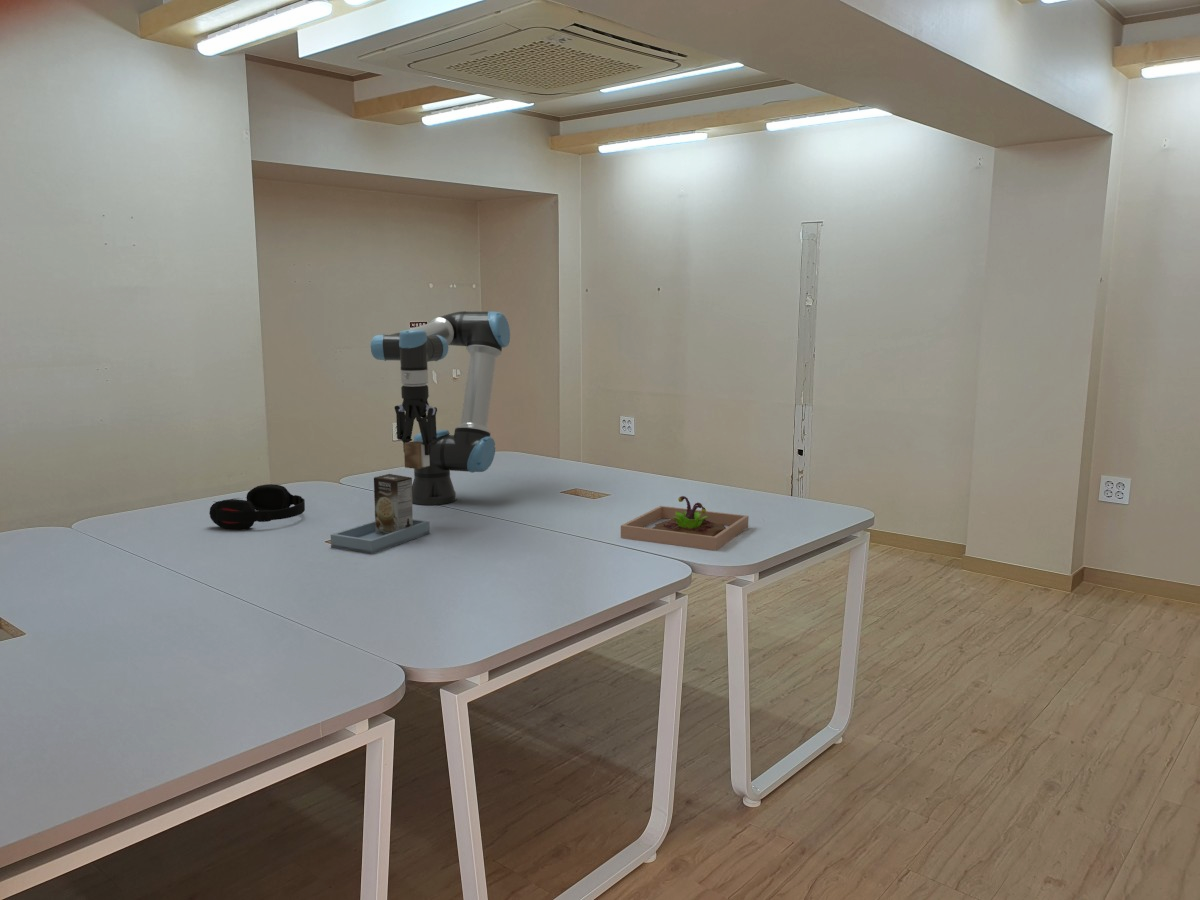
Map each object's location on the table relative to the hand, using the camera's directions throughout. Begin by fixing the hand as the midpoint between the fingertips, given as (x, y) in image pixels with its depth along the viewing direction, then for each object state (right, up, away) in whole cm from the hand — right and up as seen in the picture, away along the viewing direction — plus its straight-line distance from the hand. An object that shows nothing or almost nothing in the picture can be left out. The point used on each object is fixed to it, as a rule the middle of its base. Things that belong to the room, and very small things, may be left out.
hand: (417, 465), depth 251 cm
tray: (-8, -20, -12) cm, 25 cm away
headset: (-51, -17, +12) cm, 55 cm away
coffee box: (-5, -19, -7) cm, 21 cm away
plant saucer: (+77, -19, -2) cm, 80 cm away
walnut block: (0, -1, 0) cm, 0 cm away
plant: (+78, -20, -3) cm, 80 cm away
